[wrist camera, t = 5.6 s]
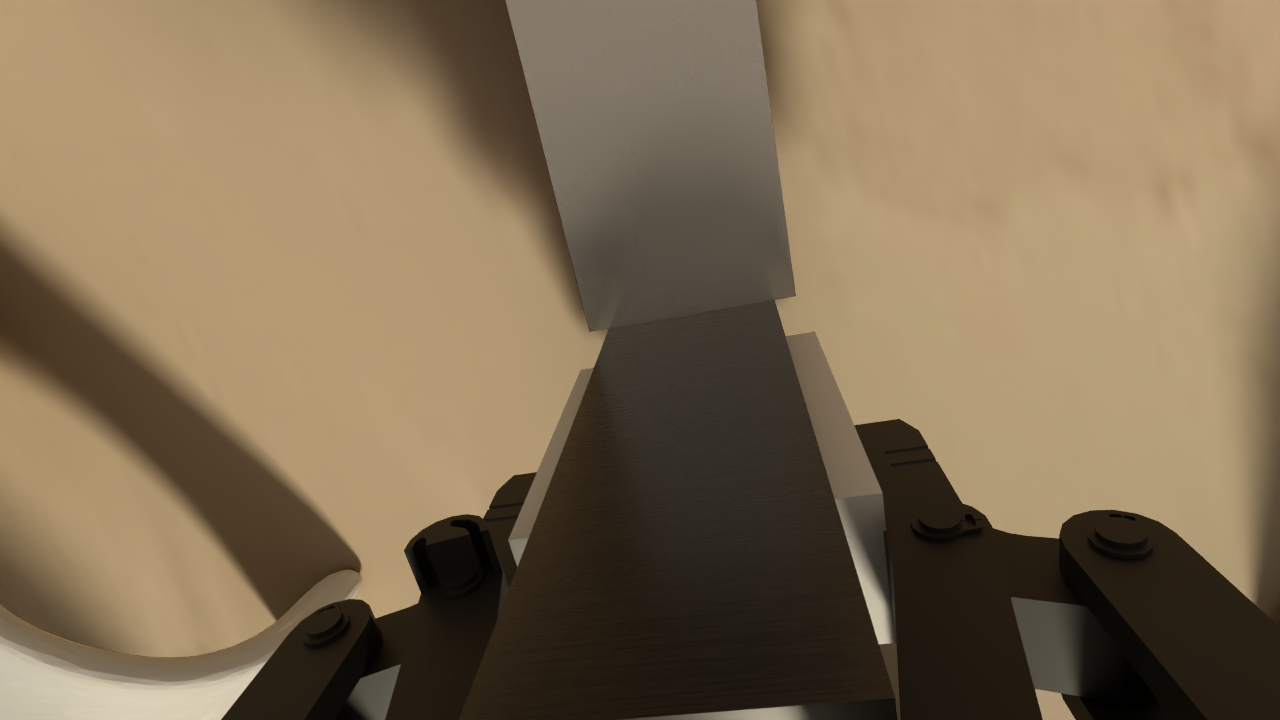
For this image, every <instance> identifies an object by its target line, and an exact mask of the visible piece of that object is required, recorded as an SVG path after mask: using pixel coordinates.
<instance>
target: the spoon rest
mask: <svg viewBox="0 0 1280 720" xmlns="http://www.w3.org/2000/svg"><path fill="white" fill-rule="evenodd" d="M361 584H362V577H361V575H360V574H359V573H357V572H356V571H352V570H348V569H347V570H341V571H338V572H336V573H333V574H330V575H328V576H326V577H325V578H323V579H322V580H321V581H319V582H318V583H317V584H316V585H315V586H314V587H312V588H311V589H310V590H309V591H308V592H307V593H305V594H304V595H303V596H302V597H301V598H300V599H299V600H298V601H297V602H296V603H295V604H294V605H293V606H292V607H291V608H290V609H289V610H288V611H287V612H286V613H285V614H284V615H283V616H282V617H281V618H280V619H278V620H277V621H276V622H275V623H274V624H273V625H271V626H270V627H268V628H267V629H265V630H264V631H262V632H261V633H259V634H258V635H256V636H254V637H252V638H250V639H248V640H246V641H243V642H241V643H239V644H237V645H235V646H232V647H229V648H226V649H223V650H219V651H216V652H212V653H208V654H203V655H198V656H189V657H147V656H138V655H129V654H123V653H117V652H112V651H107V650H102V649H99V648H95V647H91V646H88V645H84V644H80V643H77V642H74V641H71V640H67V639H64V638H62V637H59V636H56V635H54V634H51V633H48V632H46V631H43V630H41V629H39V628H37V627H35V626H33V625H31V624H29V623H27V622H26V621H24V620H22V619H20V618H18V617H17V616H15V615H14V614H13V613H11V612H10V611H9V610H7V609H6V608H5V607H3V606H2V605H1V604H0V720H221V719H222V718H223V717H224V715H225V714H226V713H227V711H228V710H229V709H230V708H231V706H232V705H233V704H234V703H235V701H236V700H237V699H238V698H239V696H240V695H241V694H242V692H243V691H244V690H245V689H246V687H247V686H248V685H249V684H250V682H251V681H252V680H253V679H254V677H255V676H256V675H257V673H258V672H259V671H260V670H261V668H262V667H263V666H264V665H265V663H266V662H267V661H268V659H269V658H270V657H271V656H272V654H273V653H274V652H275V651H276V649H277V648H278V647H279V646H280V644H281V643H282V642H283V640H284V639H285V638H286V637H287V635H288V634H289V633H290V632H291V631H292V630H293V629H294V628H295V627H296V626H297V625H298V624H299V623H300V622H301V621H302V620H303V619H305V618H306V617H308V616H309V615H311V614H312V613H313V612H315V611H316V610H317V609H319V608H321V607H323V606H326V605H328V604H331V603H334V602H338V601H343V600H347V599H353V598H354V597H355V596H356V594H357V593H358V591H359V589H360V587H361Z"/></svg>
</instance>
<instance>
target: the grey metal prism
mask: <svg viewBox="0 0 1280 720" xmlns="http://www.w3.org/2000/svg"><path fill="white" fill-rule="evenodd" d="M506 4H507V8H508V12H509V16H510V20H511V24H512V28H513V32H514V36H515V40H516V44H517V48H518V52H519V55H520V59H521V63H522V67H523V71H524V75H525V79H526V83H527V87H528V91H529V95H530V99H531V103H532V107H533V111H534V115H535V119H536V123H537V127H538V130H539V134H540V138H541V142H542V146H543V150H544V154H545V158H546V162H547V166H548V170H549V174H550V178H551V182H552V186H553V190H554V194H555V198H556V202H557V205H558V209H559V213H560V217H561V221H562V225H563V229H564V233H565V237H566V241H567V245H568V249H569V253H570V257H571V261H572V265H573V269H574V273H575V277H576V281H577V284H578V288H579V292H580V296H581V300H582V304H583V308H584V312H585V316H586V320H587V324H588V328H589V332H591V331H596V330H602V329H608V328H609V330H608V333H607V335H606V338H605V341H604V343H603V346H602V348H601V351H600V354H599V356H598V359H597V361H596V364H595V367H594V369H593V372H592V374H591V377H590V380H589V382H588V385H587V387H586V390H585V393H584V395H583V398H582V400H581V403H580V406H579V408H578V411H577V413H576V416H575V419H574V421H573V424H572V426H571V429H570V432H569V434H568V437H567V439H566V442H565V445H564V447H563V450H562V452H561V455H560V458H559V460H558V463H557V465H556V468H555V471H554V473H553V476H552V478H551V481H550V484H549V486H548V489H547V492H546V494H545V497H544V499H543V502H542V505H541V507H540V510H539V512H538V515H537V518H536V520H535V523H534V525H533V528H532V531H531V533H530V536H529V538H528V541H527V544H526V546H525V549H524V551H523V554H522V557H521V559H520V562H519V564H518V567H517V570H516V572H515V575H514V577H513V580H512V583H511V585H510V588H509V590H508V593H507V596H506V598H505V601H504V603H503V606H502V609H501V611H500V614H499V616H498V619H497V622H496V624H495V627H494V629H493V632H492V635H491V637H490V640H489V642H488V645H487V648H486V650H485V653H484V656H483V658H482V661H481V663H480V666H479V669H478V671H477V674H476V676H475V679H474V682H473V684H472V687H471V689H470V692H469V695H468V697H467V700H466V702H465V705H464V708H463V710H462V713H461V715H460V718H459V720H897V713H896V703H895V696H894V693H893V690H892V686H891V683H890V680H889V677H888V673H887V670H886V667H885V663H884V660H883V657H882V653H881V650H880V647H879V644H878V640H877V637H876V634H875V630H874V627H873V624H872V620H871V617H870V614H869V611H868V607H867V604H866V601H865V597H864V594H863V591H862V587H861V584H860V581H859V578H858V574H857V571H856V568H855V564H854V561H853V558H852V554H851V551H850V548H849V545H848V541H847V538H846V535H845V531H844V528H843V525H842V522H841V518H840V515H839V512H838V508H837V505H836V502H835V498H834V495H833V492H832V489H831V485H830V482H829V479H828V475H827V472H826V469H825V465H824V462H823V459H822V456H821V452H820V449H819V446H818V442H817V439H816V436H815V432H814V429H813V426H812V423H811V419H810V416H809V413H808V409H807V406H806V403H805V399H804V396H803V393H802V390H801V386H800V383H799V380H798V376H797V373H796V370H795V366H794V363H793V360H792V357H791V353H790V350H789V347H788V343H787V340H786V337H785V333H784V330H783V327H782V324H781V320H780V317H779V314H778V310H777V307H776V304H775V299H781V298H787V297H793V296H796V293H795V286H794V279H793V271H792V264H791V256H790V249H789V242H788V234H787V227H786V219H785V212H784V204H783V197H782V190H781V182H780V175H779V167H778V160H777V153H776V145H775V138H774V130H773V123H772V116H771V108H770V101H769V93H768V86H767V78H766V71H765V64H764V56H763V49H762V41H761V34H760V27H759V19H758V12H757V4H756V0H506Z"/></svg>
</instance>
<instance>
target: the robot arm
mask: <svg viewBox="0 0 1280 720" xmlns="http://www.w3.org/2000/svg"><path fill="white" fill-rule="evenodd" d="M785 337H786V340H787V343H788V347H789V350H790V353H791V357H792V360H793V363H794V366H795V370H796V373H797V376H798V380H799V383H800V386H801V390H802V393H803V396H804V399H805V403H806V406H807V409H808V413H809V416H810V419H811V423H812V426H813V429H814V432H815V436H816V439H817V442H818V446H819V449H820V452H821V456H822V459H823V462H824V465H825V469H826V472H827V475H828V479H829V482H830V485H831V489H832V492H833V495H834V498H835V502H836V505H837V508H838V512H839V515H840V518H841V522H842V525H843V528H844V531H845V535H846V538H847V541H848V545H849V548H850V551H851V554H852V558H853V561H854V564H855V568H856V571H857V574H858V578H859V581H860V584H861V587H862V591H863V594H864V597H865V601H866V604H867V607H868V611H869V614H870V617H871V620H872V624H873V627H874V630H875V634H876V637H877V640H878V644H889V643H897V658H898V677H899V695H900V714H901V720H1043V719H1042V716H1041V712H1040V708H1039V704H1038V700H1037V696H1036V693H1035V689H1040V690H1046V691H1052V692H1057V693H1061V694H1062V697H1063V700H1064V701H1065V703H1066V705H1067V706H1068V708H1069V709H1070V711H1071V713H1072V714H1073V716H1074V717H1075V719H1076V720H1280V627H1279V626H1278V625H1277V624H1275V623H1274V622H1273V621H1272V620H1271V619H1270V618H1269V617H1268V616H1267V615H1266V614H1264V613H1263V612H1262V611H1261V610H1260V609H1259V608H1258V607H1257V606H1256V605H1255V604H1253V603H1252V602H1251V601H1250V600H1249V599H1248V598H1247V597H1246V596H1245V595H1244V594H1242V593H1241V592H1240V591H1239V590H1238V589H1237V588H1236V587H1235V586H1234V585H1233V584H1231V583H1230V582H1229V581H1228V580H1227V579H1226V578H1225V577H1224V576H1223V575H1222V574H1221V573H1219V572H1218V571H1217V570H1216V569H1215V568H1214V567H1213V566H1212V565H1211V564H1210V563H1208V562H1207V561H1206V560H1205V559H1204V558H1203V557H1202V556H1201V555H1200V554H1199V553H1197V552H1196V551H1195V550H1194V549H1193V548H1192V547H1191V546H1190V545H1189V544H1188V543H1186V542H1185V541H1184V540H1183V539H1182V538H1181V537H1180V536H1179V535H1178V534H1177V533H1175V532H1174V531H1172V530H1171V529H1169V528H1168V527H1166V526H1164V525H1163V524H1161V523H1160V522H1158V521H1155V520H1152V519H1150V518H1147V517H1144V516H1142V515H1139V514H1135V513H1129V512H1123V511H1117V510H1093V511H1088V512H1084V513H1081V514H1077V515H1074V516H1072V517H1071V518H1070V519H1068V520H1067V521H1066V522H1064V523H1063V524H1062V528H1061V531H1060V535H1059V539H1056V538H1045V537H1033V536H1024V535H1017V534H1011V533H1007V532H1003V531H1000V530H997V529H994V528H992V526H991V524H990V522H989V521H988V519H987V518H986V516H985V515H984V514H982V513H981V512H979V511H978V510H976V509H975V508H973V507H971V506H968V505H965V504H962V502H961V501H960V499H959V497H958V496H957V494H956V492H955V491H954V489H953V487H952V485H951V484H950V482H949V480H948V479H947V477H946V475H945V474H944V472H943V470H942V469H941V467H940V465H939V464H938V462H936V460H935V457H934V455H933V454H932V452H931V450H930V449H928V445H927V444H926V442H925V440H924V439H923V437H922V435H921V434H920V432H919V430H917V429H915V428H914V427H912V426H910V425H909V424H907V423H905V422H904V421H902V420H900V419H896V420H889V421H882V422H875V423H868V424H861V425H854V424H853V422H852V419H851V417H850V414H849V412H848V410H847V407H846V405H845V403H844V400H843V398H842V395H841V393H840V391H839V388H838V386H837V384H836V381H835V379H834V376H833V374H832V372H831V369H830V367H829V365H828V362H827V360H826V357H825V355H824V353H823V350H822V348H821V346H820V343H819V341H818V338H817V336H816V334H815V332H810V333H804V334H798V335H792V336H785ZM593 369H594V368H591V369H585V370H581V371H580V373H579V375H578V378H577V380H576V382H575V385H574V387H573V389H572V392H571V394H570V396H569V399H568V401H567V403H566V406H565V408H564V410H563V413H562V415H561V418H560V420H559V422H558V425H557V427H556V429H555V432H554V434H553V436H552V439H551V441H550V443H549V446H548V448H547V450H546V453H545V455H544V457H543V460H542V462H541V464H540V467H539V469H538V471H537V472H535V473H528V474H521V475H514V476H513V477H512V478H511V479H510V480H508V481H507V482H506V483H505V484H504V485H503V486H502V487H501V488H500V489H499V490H498V491H497V492H496V494H495V496H494V498H493V500H492V502H491V504H490V506H489V510H487V512H486V514H485V516H484V518H483V519H482V518H481V517H480V516H475V515H468V514H466V515H459V516H452V517H449V518H446V519H444V520H441V521H438V522H436V523H434V524H432V525H430V526H428V527H427V528H425V529H423V530H422V531H420V532H419V533H418V534H417V535H416V536H415V537H414V538H412V539H411V540H410V542H409V543H408V545H407V546H406V548H405V550H404V552H405V554H406V557H407V559H408V562H409V564H410V567H411V569H412V572H413V574H414V576H415V579H416V581H417V584H418V586H419V589H420V591H421V596H420V599H419V603H418V604H416V605H413V606H411V607H408V608H405V609H403V610H400V611H397V612H394V613H391V614H388V615H385V616H382V617H379V618H376V619H375V617H374V615H373V612H372V610H371V608H370V606H369V605H368V604H367V603H365V602H364V601H363V600H355V599H347V600H343V601H338V602H334V603H331V604H328V605H326V606H323V607H321V608H319V609H317V610H316V611H315V612H313V613H312V614H311V615H309V616H308V617H306V618H305V619H303V620H302V621H301V622H300V623H299V624H298V625H297V626H296V627H295V628H294V629H293V630H292V631H291V632H290V633H289V634H288V635H287V637H286V638H285V639H284V640H283V642H282V643H281V644H280V646H279V647H278V648H277V649H276V651H275V652H274V653H273V654H272V656H271V657H270V658H269V659H268V661H267V662H266V663H265V665H264V666H263V667H262V668H261V670H260V671H259V672H258V673H257V675H256V676H255V677H254V679H253V680H252V681H251V682H250V684H249V685H248V686H247V687H246V689H245V690H244V691H243V692H242V694H241V695H240V696H239V698H238V699H237V700H236V701H235V703H234V704H233V705H232V706H231V708H230V709H229V710H228V711H227V713H226V714H225V715H224V717H223V718H222V719H221V720H459V718H460V715H461V713H462V710H463V708H464V705H465V702H466V700H467V697H468V695H469V692H470V689H471V687H472V684H473V682H474V679H475V676H476V674H477V671H478V669H479V666H480V663H481V661H482V658H483V656H484V653H485V650H486V648H487V645H488V642H489V640H490V637H491V635H492V632H493V629H494V627H495V624H496V622H497V619H498V616H499V614H500V611H501V609H502V606H503V603H504V601H505V598H506V596H507V593H508V590H509V588H510V585H511V583H512V580H513V577H514V575H515V572H516V570H517V567H518V564H519V562H520V559H521V557H522V554H523V551H524V549H525V546H526V544H527V541H528V538H529V536H530V533H531V531H532V528H533V525H534V523H535V520H536V518H537V515H538V512H539V510H540V507H541V505H542V502H543V499H544V497H545V494H546V492H547V489H548V486H549V484H550V481H551V478H552V476H553V473H554V471H555V468H556V465H557V463H558V460H559V458H560V455H561V452H562V450H563V447H564V445H565V442H566V439H567V437H568V434H569V432H570V429H571V426H572V424H573V421H574V419H575V416H576V413H577V411H578V408H579V406H580V403H581V400H582V398H583V395H584V393H585V390H586V387H587V385H588V382H589V380H590V377H591V374H592V372H593ZM895 622H896V624H895Z"/></svg>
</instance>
